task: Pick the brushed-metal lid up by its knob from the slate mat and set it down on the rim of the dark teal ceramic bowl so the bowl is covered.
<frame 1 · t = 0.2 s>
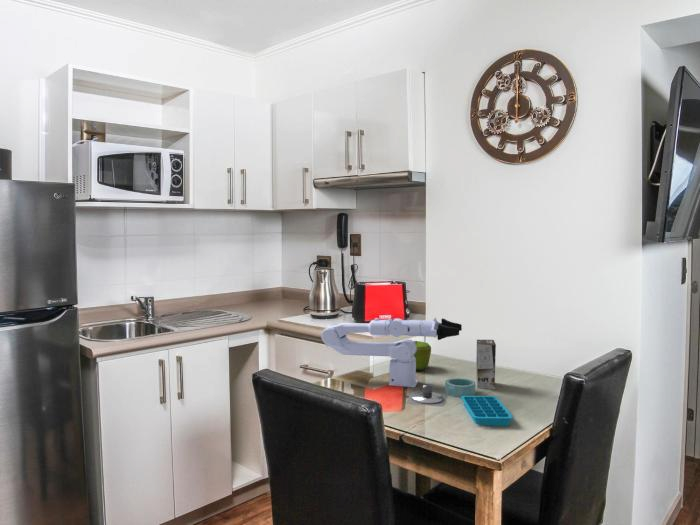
hand: (460, 329, 190), 21 cm above the table, tool horizontal, fingers open, 7 cm apart
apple: (415, 368, 219), on the table
lid: (427, 398, 179), resting on mat
bowl: (460, 393, 186), on the table
coffee box: (485, 386, 195), on the table
mat: (427, 400, 179), on the table
ice cube tray: (485, 416, 165), on the table
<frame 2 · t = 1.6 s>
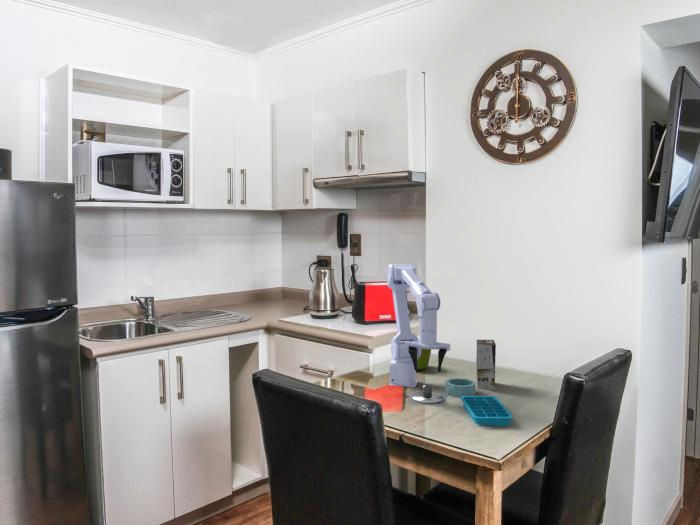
hand: (427, 370, 178), 10 cm above the table, tool pointing down, fingers open, 7 cm apart
nothing on the table moved.
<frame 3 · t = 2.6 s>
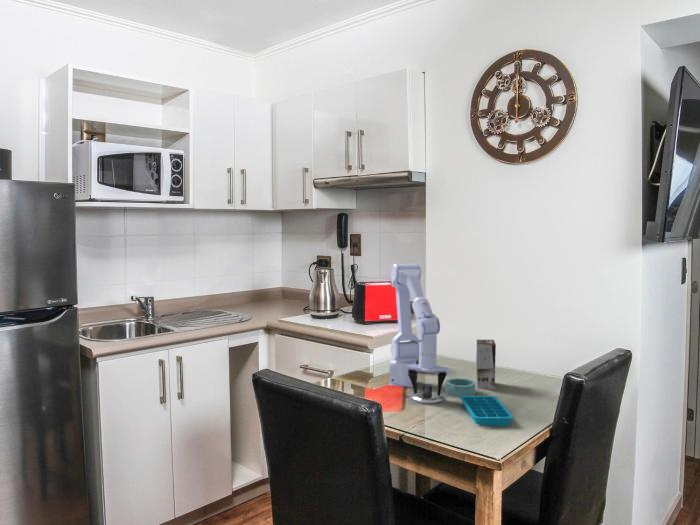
hand: (427, 393, 179), 2 cm above the table, tool pointing down, fingers open, 7 cm apart
nothing on the table moved.
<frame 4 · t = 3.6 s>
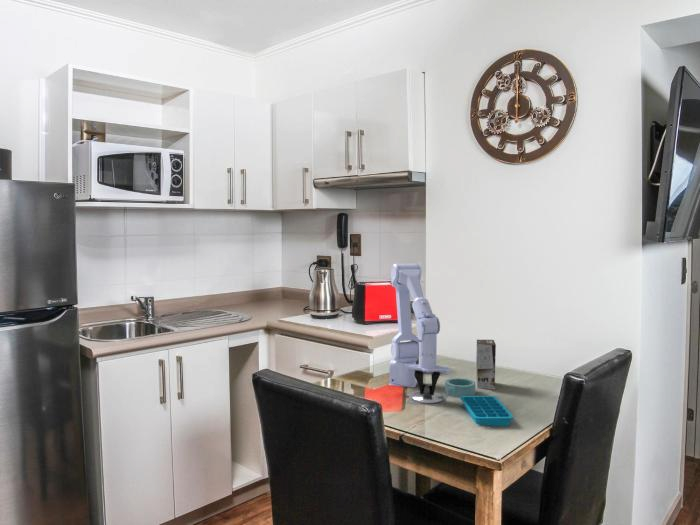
hand: (427, 393, 179), 2 cm above the table, tool pointing down, fingers closed on lid, 3 cm apart
lid: (427, 398, 179), resting on mat, touching gripper
everything else where it was.
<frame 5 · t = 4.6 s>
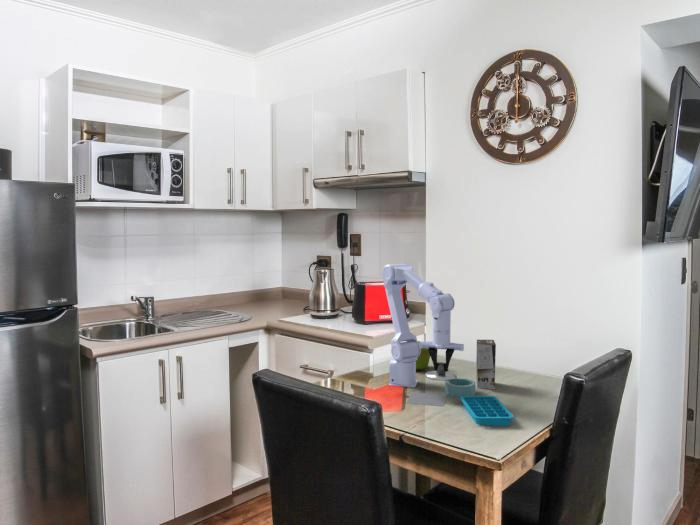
hand: (441, 370, 181), 9 cm above the table, tool pointing down, fingers closed on lid, 3 cm apart
lid: (440, 376, 181), point 7 cm above the table, touching gripper
everything else where it was.
when the fingers open (7 cm above the table, at t = 6.1 s): lid stays where it is, resting on bowl.
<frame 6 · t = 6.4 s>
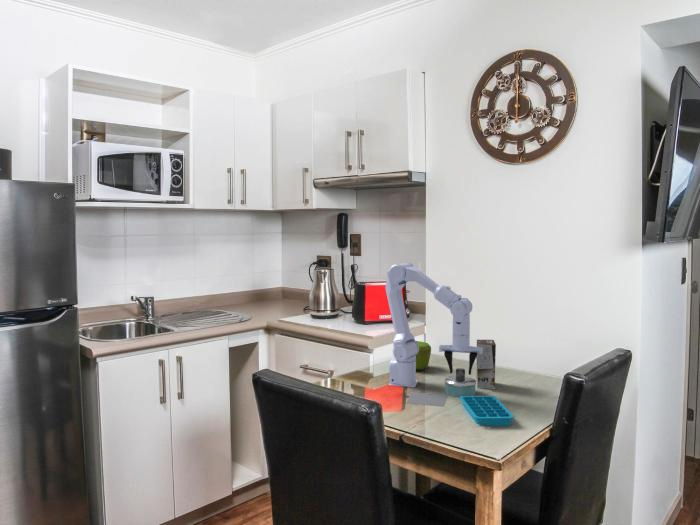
hand: (460, 373, 185), 7 cm above the table, tool pointing down, fingers open, 6 cm apart
lid: (460, 382, 185), point 4 cm above the table, touching bowl
everything else where it was.
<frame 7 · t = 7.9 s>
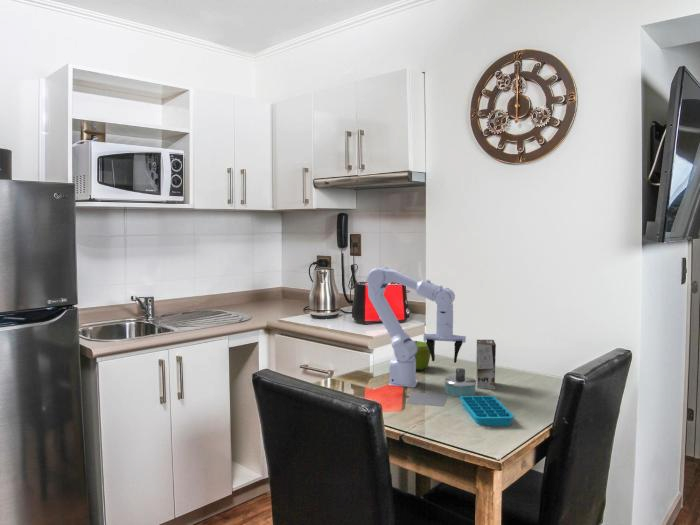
hand: (444, 361, 191), 10 cm above the table, tool pointing down, fingers open, 7 cm apart
nothing on the table moved.
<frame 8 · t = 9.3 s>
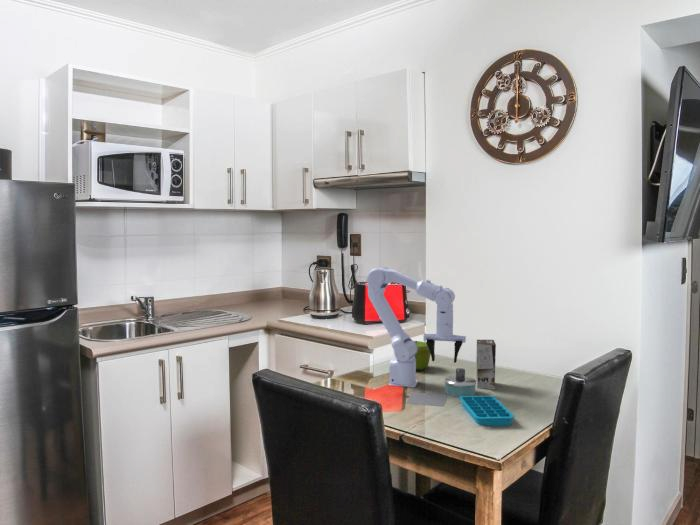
hand: (444, 361, 191), 10 cm above the table, tool pointing down, fingers open, 7 cm apart
nothing on the table moved.
at the end: lid 0.4 cm off-centre on the bowl, point 4.0 cm above the bowl's base; lid tilted 0°; the gripper is holding nothing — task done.
